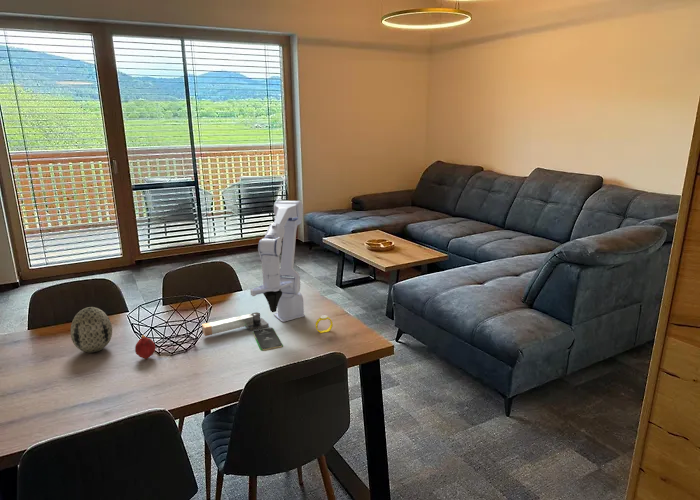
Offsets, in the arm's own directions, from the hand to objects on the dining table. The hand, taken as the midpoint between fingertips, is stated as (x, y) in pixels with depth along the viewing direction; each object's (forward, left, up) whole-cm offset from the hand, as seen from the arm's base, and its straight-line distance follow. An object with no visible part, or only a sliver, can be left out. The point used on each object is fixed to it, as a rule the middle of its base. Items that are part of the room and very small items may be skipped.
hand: (273, 310), depth 160 cm
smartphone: (+3, +1, -10) cm, 10 cm away
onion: (+40, -8, -10) cm, 42 cm away
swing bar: (+11, -12, -8) cm, 18 cm away
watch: (-16, +7, -10) cm, 20 cm away
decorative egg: (+53, -23, -10) cm, 59 cm away
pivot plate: (+2, -11, -9) cm, 15 cm away
